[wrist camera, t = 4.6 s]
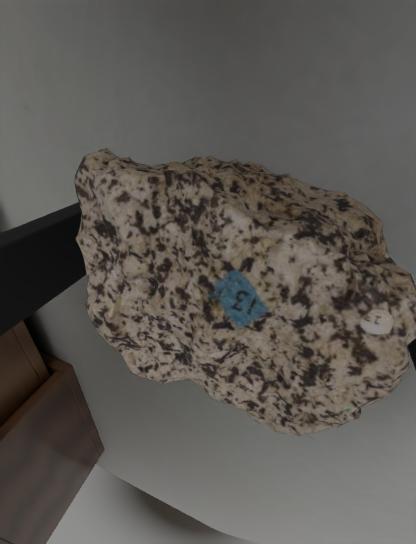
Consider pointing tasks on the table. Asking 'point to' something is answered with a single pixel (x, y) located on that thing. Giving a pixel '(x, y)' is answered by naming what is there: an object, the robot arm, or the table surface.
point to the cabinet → (45, 457)
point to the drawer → (18, 370)
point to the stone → (244, 287)
